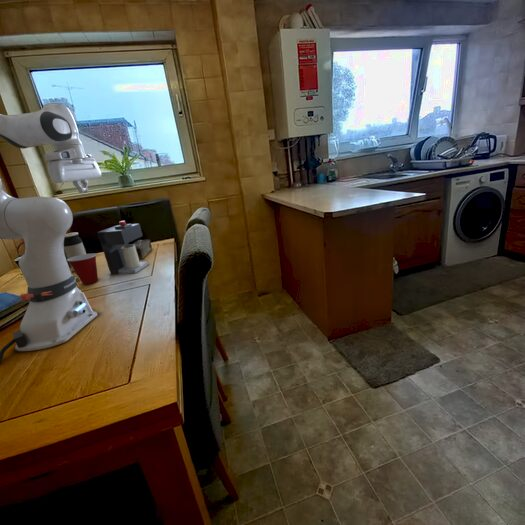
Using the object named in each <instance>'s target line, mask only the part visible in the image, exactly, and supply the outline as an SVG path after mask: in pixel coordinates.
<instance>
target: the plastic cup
mask: <svg viewBox="0 0 525 525" xmlns="http://www.w3.org/2000/svg"><path fill="white" fill-rule="evenodd" d="M97 254H98V253H86V254H84V255H79V256H75V257H71V258H69V259H67V261H69V263H70V264H71V266H72V267H73V269H74V270H75V271H74V272H75V274H76V276H77V277H78V279H79V280H80V282H81V283H82V284H83V285H84V286H85V285H91V284H95V283H97V282H98V281H99V277H98V268H97Z"/></svg>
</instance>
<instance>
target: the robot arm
mask: <svg viewBox="0 0 525 525" xmlns="http://www.w3.org/2000/svg"><path fill="white" fill-rule="evenodd" d="M79 134H80V133H79V129H78V126H77V123H76V121H75V119H74V116H73V113H72V112H71V110H70V109H69V107H68V106H66V105H64V104H61V103H56V102H47V103H45V104H43V106H42V108H41V109H39V110H37V111H32V112H26V113H18V114H2V113H0V138H2V139H3V140H5V141H6V142H7V143H9V144H10V145H12V146H13V147H15V148H18V149H23V150H24V149H25V150H26V149H29V148H33V147H38V146H46V145H52V144H53V147H54V150H52V151H50V152H48V153H46V154H44V156H43V157H44V160H45V161H46V162H47V170H48V174H49V176H50V179H51V181H52V182H54V184H62V183H69V182H70V183H71V182H72V184H73V187H76V189H77V191H78V193H79V194H85V193H89V180H95V179H101V178H102V175H103V174H102V171H101V169H100V166H99V163H98V162H97V160H96V158H95V157H94V156H93V155H92V154H90V153H88V154H86V151H85V149H84V146H83V143H82V141H81V139H80V137H79ZM2 182H3V181H2V179H1V178H0V239H1V240H20V239H22V240H23V241H24V249H25V250H24V253H23V255H21V257H20V258H19V260H18V267H19V269H20V271H21V273H22V276H23V278H24V280H25V282H26V284H27V293H20V294H19V300H20V301H21V302H24V301H28V302H29V303H28V305H27V308H26V310H25V312H24V315H23V317H22V320H21V322H20V324H19V330H16V331H14V332H12V336H13V337H12V338H13V339H11V340H10V341H9V342H8V343H6V344H5V345H4V346H3V347H2V348H1V349H0V363H1V362H2V360H3V358H4V354H5V353H6V351H7V350H8V349H10V347H12V346H13V345H14V344H15V346H14V349H15V351H17V352H32V351H39V350H45V349H48V348H53V347H56V346H58V345H59V346H60V345H61V344H65V343H66V342H68V341H69V340H70V339H72V338H73V337H74V336H75V335H76V334H78V332H80V331H81V330H82V329H83V328H84V327H86V326H87V325H88V324H89V323H91V321H93V320H94V319H95V318H97V317H98V315H99V314H98V313H97V311H96V310H93V309H92V306H91V304H90V302H89V301H88V298H87V297H86V294H85V293H84V291H83V292H82V290H81V289H79V288H78V283H77V278H76V277H75V276H74V274H73V273H72V272H71V269H70V267H69V266H68V263H67V260H66V257H65V254H64V237H65V234H67V233H68V231H69V230H70V228H71V227H72V226H73V221H74V216H73V212H72V210H71V207H70V206H69V205H68V204H67V203H66V202H65V201H64V200H62V199H61V198H56V197H52V196H51V197H50V196H41V195H39V196H31V197H22V198H21V197H20V198H19V197H14V196H11V195H9V194H7V193H6V192H5V191H4V190H3V183H2ZM81 184H82V185H81Z"/></svg>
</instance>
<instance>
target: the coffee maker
mask: <svg viewBox="0 0 525 525" xmlns="http://www.w3.org/2000/svg"><path fill="white" fill-rule="evenodd" d="M143 235H144V234H143V232H142V228H141V224H140V223H126V225H120V224H117V225H113V226H111V227H108V228H105V229H103V230H100V231H97V237H98V239H99V242H100V245H101V248H102V252H103V255H104V258H105V260H106V261H105V262H106V264H107V266H108V270H109V272H110V275H113V276H114V275H115V276H116V275H118V274H137V273H138V272H139V271H141V270H143V269H145V268H146V267H147V266H148V265H149V262H148V261H139V262H140V265H139V266H137V267H134V268H127V267H126V264H125V261H124V257H123V254H122V251H121V247H123V246H126V245H130V244H129V243H131V242H133V241H135V240H138V239H140V238H141V237H143Z"/></svg>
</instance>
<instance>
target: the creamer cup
mask: <svg viewBox="0 0 525 525" xmlns="http://www.w3.org/2000/svg"><path fill="white" fill-rule="evenodd" d="M121 251H122V254H123V257H124V261H125V264H126V267H127V268H134V267H137V266H139V265H140V262H141V261H140V259H139V258H138V254H137V251H136V247H135V245H132V244H129V245H126V246H123V247H121Z"/></svg>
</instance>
